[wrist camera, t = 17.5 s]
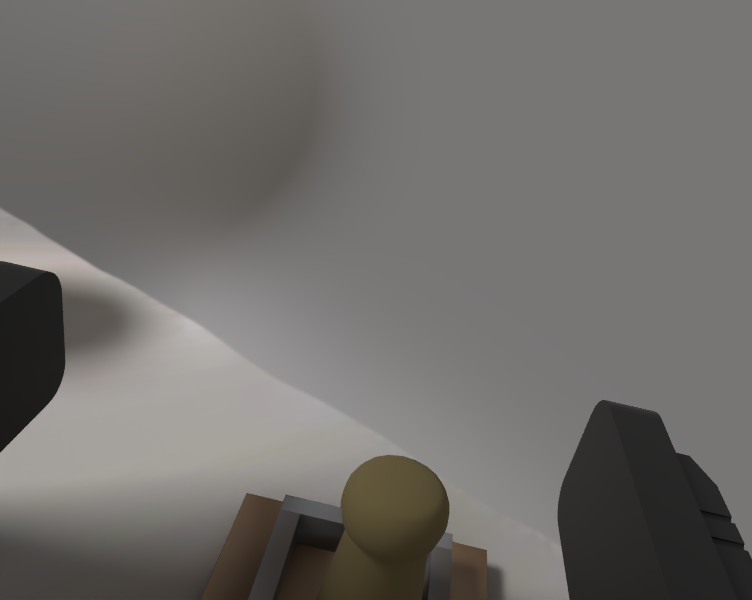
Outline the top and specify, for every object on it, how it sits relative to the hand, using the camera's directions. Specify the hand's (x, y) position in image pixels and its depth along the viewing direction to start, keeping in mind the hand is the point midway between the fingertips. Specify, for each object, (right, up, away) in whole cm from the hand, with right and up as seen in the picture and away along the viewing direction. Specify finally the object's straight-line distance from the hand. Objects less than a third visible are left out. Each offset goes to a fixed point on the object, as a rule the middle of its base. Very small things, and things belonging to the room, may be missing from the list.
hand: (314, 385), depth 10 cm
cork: (0, -17, +26) cm, 31 cm away
